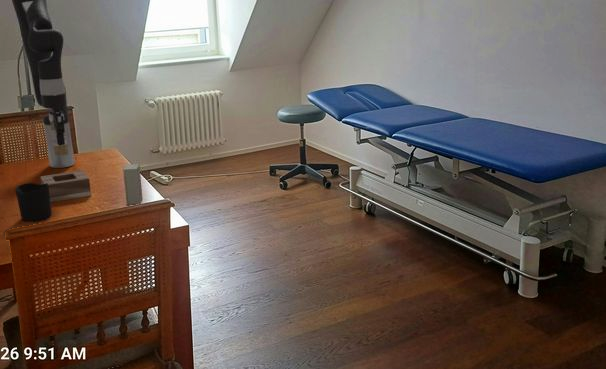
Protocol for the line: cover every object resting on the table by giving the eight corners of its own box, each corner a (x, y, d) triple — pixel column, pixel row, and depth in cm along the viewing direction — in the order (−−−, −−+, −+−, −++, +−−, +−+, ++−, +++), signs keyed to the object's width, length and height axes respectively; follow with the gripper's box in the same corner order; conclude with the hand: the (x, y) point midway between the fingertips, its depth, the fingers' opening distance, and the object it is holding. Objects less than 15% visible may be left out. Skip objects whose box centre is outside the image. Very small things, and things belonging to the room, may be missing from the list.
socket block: (42, 193, 219) (40, 176, 217) (84, 186, 225) (82, 170, 224) (47, 202, 209) (45, 185, 207) (91, 195, 215) (89, 178, 214)
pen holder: (46, 210, 202) (42, 180, 199) (57, 217, 195) (53, 186, 192) (16, 217, 196) (10, 186, 193) (26, 225, 189) (21, 193, 186)
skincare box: (129, 199, 211) (125, 164, 207) (143, 198, 211) (139, 163, 207) (126, 205, 205) (122, 169, 201) (140, 204, 205) (136, 168, 201)
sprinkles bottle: (70, 154, 212) (64, 114, 208) (56, 156, 210) (50, 116, 206) (66, 151, 216) (61, 112, 212) (52, 153, 214) (47, 114, 210)
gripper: (37, 90, 211) (45, 140, 216) (43, 96, 199) (51, 149, 204) (61, 88, 215) (68, 137, 220) (68, 94, 203) (75, 146, 208)
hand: (60, 143), depth 212 cm, fingers closed on sprinkles bottle, 4 cm apart
